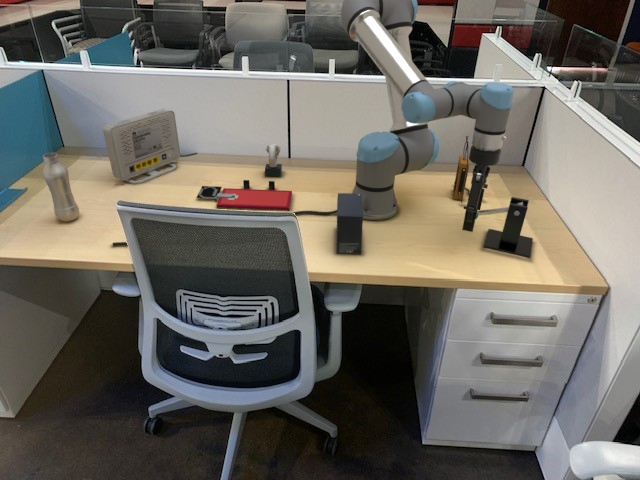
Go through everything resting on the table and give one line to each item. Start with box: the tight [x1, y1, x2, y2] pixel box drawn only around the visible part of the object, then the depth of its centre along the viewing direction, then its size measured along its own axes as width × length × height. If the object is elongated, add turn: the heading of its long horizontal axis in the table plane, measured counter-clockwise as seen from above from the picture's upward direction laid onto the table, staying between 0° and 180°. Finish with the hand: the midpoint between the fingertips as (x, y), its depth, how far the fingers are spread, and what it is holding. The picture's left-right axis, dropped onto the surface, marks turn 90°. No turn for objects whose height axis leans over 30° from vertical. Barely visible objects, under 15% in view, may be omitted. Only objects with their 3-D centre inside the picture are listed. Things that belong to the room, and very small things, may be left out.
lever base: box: [483, 196, 534, 259], centre depth 129 cm, size 12×10×14 cm
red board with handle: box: [196, 179, 293, 211], centre depth 154 cm, size 30×3×15 cm
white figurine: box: [264, 143, 283, 178], centre depth 168 cm, size 6×8×11 cm
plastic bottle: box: [42, 152, 80, 222], centre depth 136 cm, size 6×7×20 cm
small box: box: [336, 192, 364, 255], centre depth 130 cm, size 13×7×12 cm, turn 178°
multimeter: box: [452, 135, 485, 204], centre depth 153 cm, size 15×10×20 cm
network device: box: [102, 108, 181, 185], centre depth 164 cm, size 26×9×20 cm, turn 144°
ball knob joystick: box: [464, 202, 524, 221], centre depth 130 cm, size 15×4×4 cm, turn 66°
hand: (471, 219), depth 133 cm, fingers open, 13 cm apart
